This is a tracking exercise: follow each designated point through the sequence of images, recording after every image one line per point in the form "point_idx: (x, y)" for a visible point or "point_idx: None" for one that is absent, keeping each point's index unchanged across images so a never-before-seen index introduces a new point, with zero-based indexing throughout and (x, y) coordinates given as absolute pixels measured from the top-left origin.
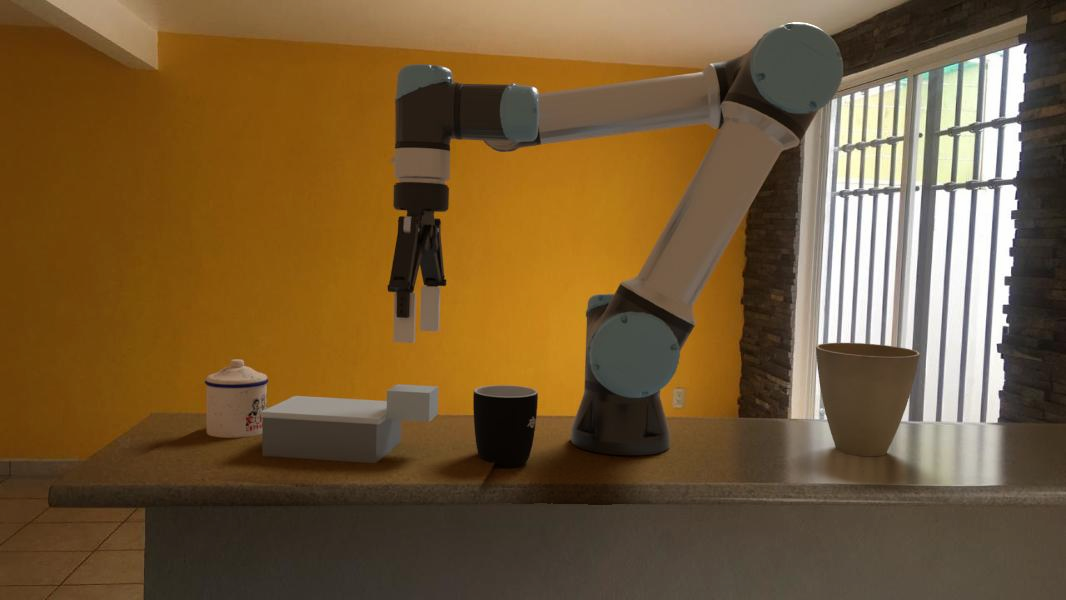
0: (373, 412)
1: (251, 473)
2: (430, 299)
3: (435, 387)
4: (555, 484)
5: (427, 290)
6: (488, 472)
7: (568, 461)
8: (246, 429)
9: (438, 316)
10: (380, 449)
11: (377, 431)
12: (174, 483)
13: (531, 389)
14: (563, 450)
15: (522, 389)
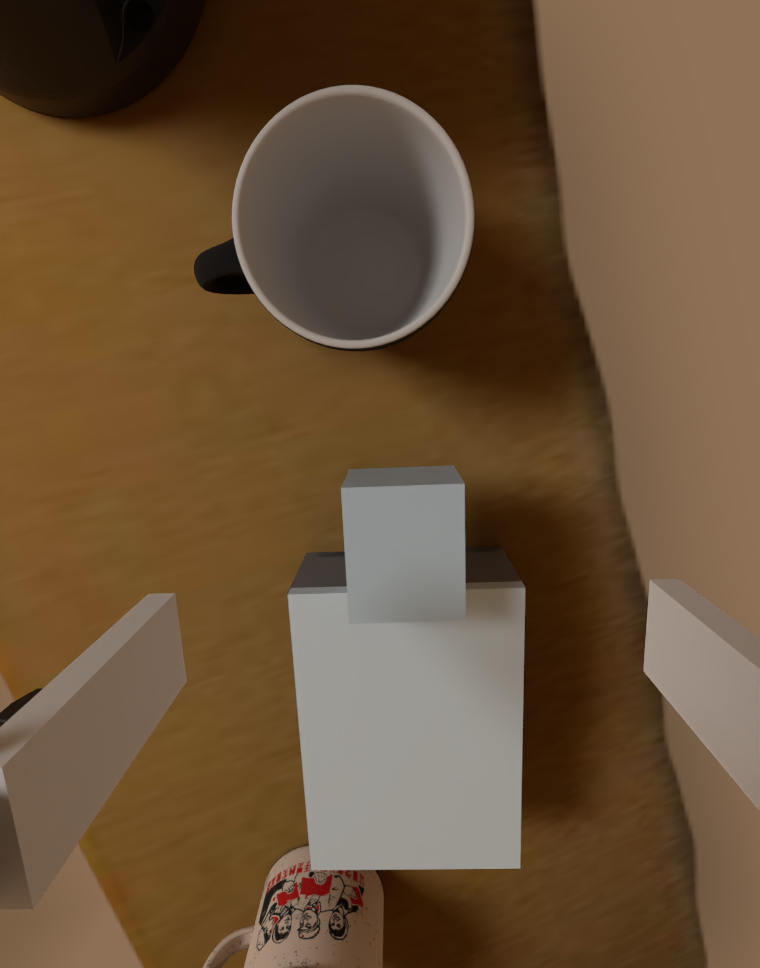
0: (453, 626)
1: (584, 754)
2: (86, 752)
3: (362, 492)
4: (534, 93)
5: (44, 830)
6: (467, 290)
7: (308, 92)
8: (362, 880)
9: (134, 632)
10: (473, 560)
11: (510, 579)
12: (670, 841)
13: (275, 126)
14: (197, 126)
15: (250, 175)
